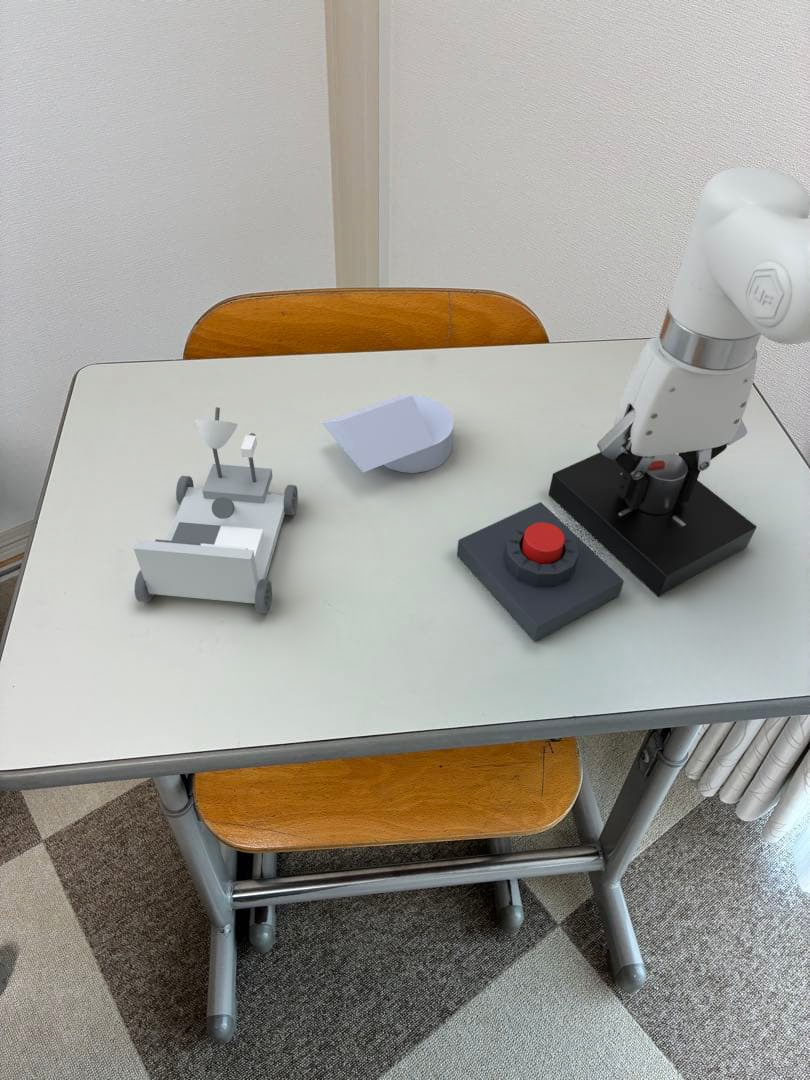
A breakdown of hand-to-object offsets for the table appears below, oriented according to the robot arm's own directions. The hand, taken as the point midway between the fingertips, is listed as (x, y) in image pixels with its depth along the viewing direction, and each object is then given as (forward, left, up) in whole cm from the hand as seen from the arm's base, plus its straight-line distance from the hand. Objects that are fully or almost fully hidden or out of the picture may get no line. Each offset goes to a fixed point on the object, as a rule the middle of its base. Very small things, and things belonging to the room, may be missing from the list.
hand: (653, 495), depth 78 cm
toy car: (+19, +37, -4) cm, 42 cm away
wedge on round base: (+22, +16, -4) cm, 27 cm away
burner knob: (0, 0, 0) cm, 0 cm away
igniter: (0, +14, -4) cm, 14 cm away
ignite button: (0, +14, 0) cm, 14 cm away
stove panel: (0, 0, -4) cm, 4 cm away
